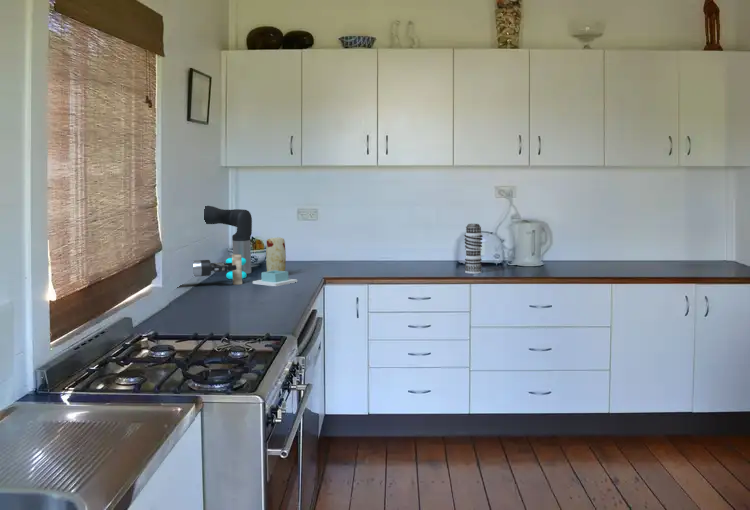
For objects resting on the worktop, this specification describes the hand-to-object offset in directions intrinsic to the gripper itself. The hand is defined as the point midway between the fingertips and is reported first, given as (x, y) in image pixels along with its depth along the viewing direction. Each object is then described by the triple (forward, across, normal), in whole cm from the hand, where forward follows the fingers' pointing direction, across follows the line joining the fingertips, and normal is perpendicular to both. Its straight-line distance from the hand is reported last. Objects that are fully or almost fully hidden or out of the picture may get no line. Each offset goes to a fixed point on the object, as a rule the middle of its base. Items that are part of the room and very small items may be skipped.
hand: (234, 266), depth 348 cm
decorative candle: (+120, -10, +9) cm, 121 cm away
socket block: (+18, -4, +9) cm, 20 cm away
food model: (+23, +15, +9) cm, 29 cm away
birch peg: (+1, 0, +9) cm, 9 cm away
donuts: (+4, +19, +9) cm, 21 cm away
